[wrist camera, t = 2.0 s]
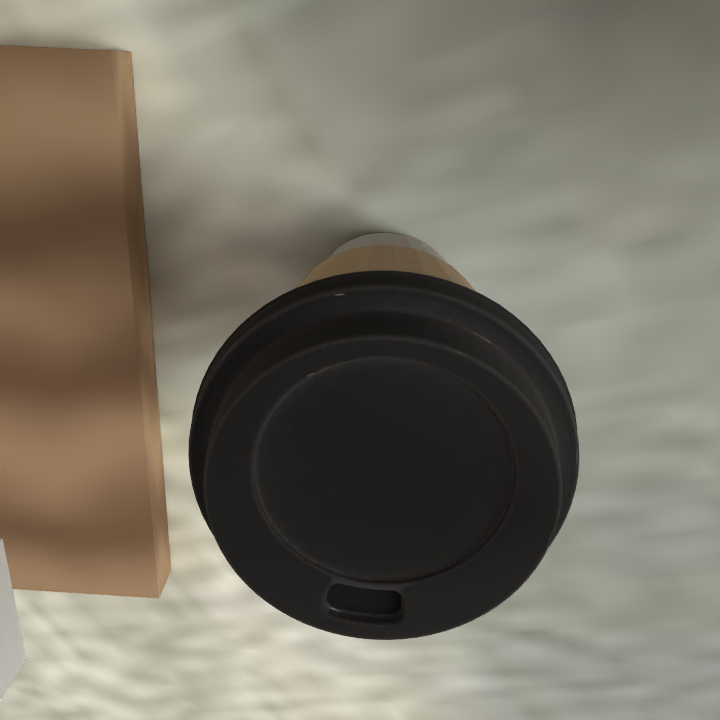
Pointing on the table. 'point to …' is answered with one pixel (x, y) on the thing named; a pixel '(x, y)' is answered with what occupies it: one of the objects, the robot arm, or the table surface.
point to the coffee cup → (384, 446)
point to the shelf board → (76, 331)
